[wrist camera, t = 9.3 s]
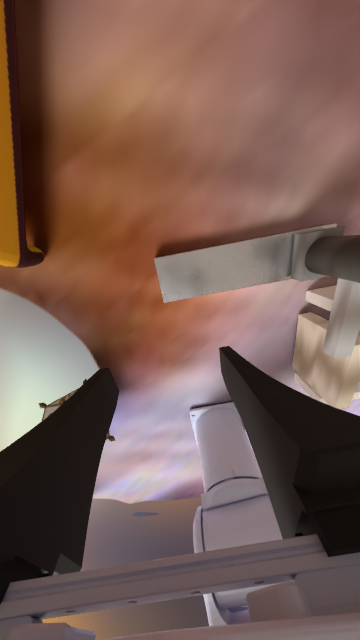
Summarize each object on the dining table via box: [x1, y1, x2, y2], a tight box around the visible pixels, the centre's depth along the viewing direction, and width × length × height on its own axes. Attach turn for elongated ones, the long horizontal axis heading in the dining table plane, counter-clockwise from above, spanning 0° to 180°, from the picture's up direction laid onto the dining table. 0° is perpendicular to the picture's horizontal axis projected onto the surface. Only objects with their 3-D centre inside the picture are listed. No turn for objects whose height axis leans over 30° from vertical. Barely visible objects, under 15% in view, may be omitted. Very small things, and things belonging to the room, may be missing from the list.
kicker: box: [291, 226, 360, 409], centre depth 16 cm, size 17×4×9 cm, turn 10°
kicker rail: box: [154, 223, 337, 303], centre depth 17 cm, size 4×17×1 cm, turn 100°
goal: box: [294, 285, 360, 404], centre depth 19 cm, size 13×9×6 cm
